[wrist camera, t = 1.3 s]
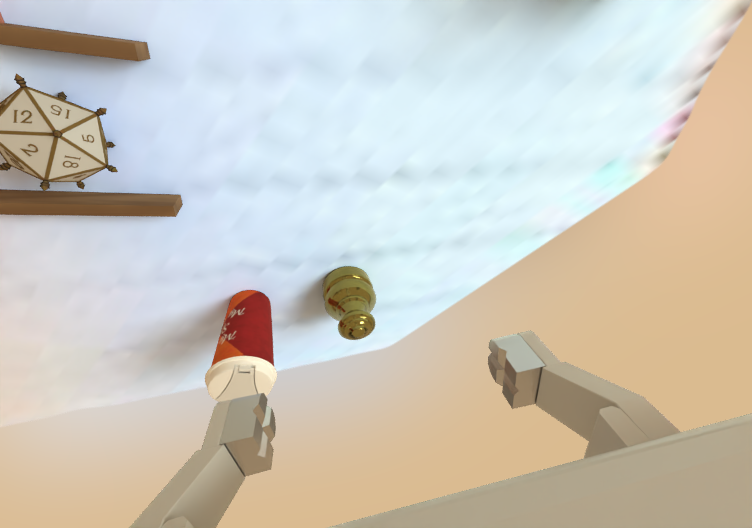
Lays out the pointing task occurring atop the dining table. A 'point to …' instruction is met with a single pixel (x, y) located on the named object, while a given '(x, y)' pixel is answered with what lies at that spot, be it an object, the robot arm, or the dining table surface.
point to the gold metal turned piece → (350, 301)
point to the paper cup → (243, 350)
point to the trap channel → (81, 201)
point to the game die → (51, 137)
